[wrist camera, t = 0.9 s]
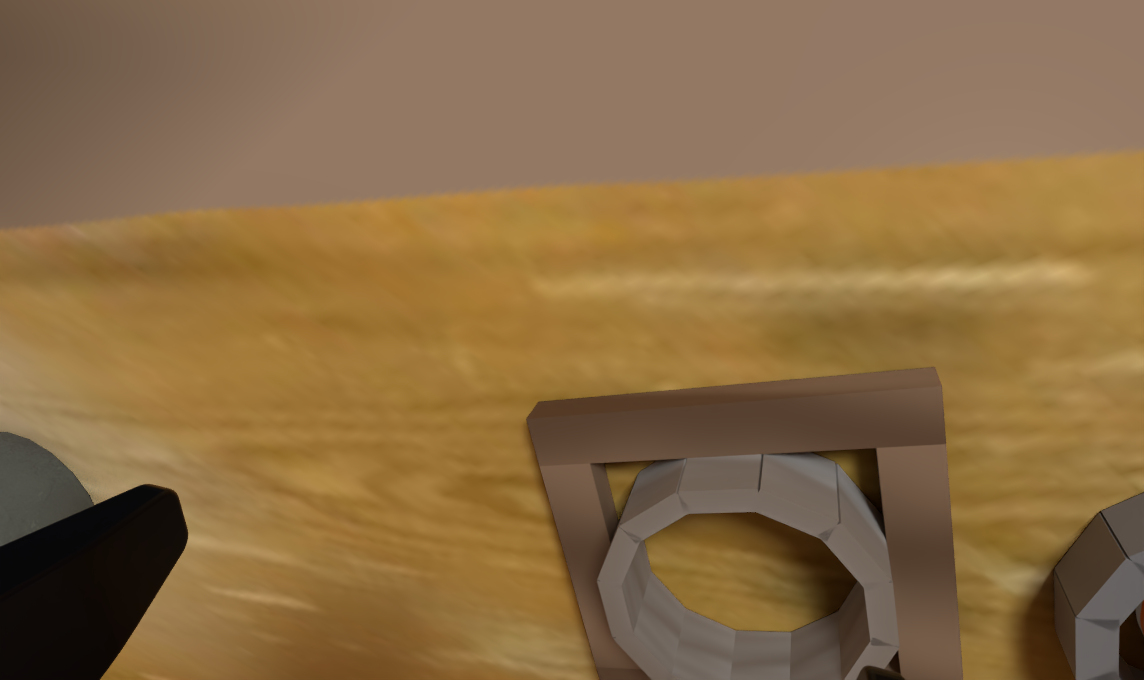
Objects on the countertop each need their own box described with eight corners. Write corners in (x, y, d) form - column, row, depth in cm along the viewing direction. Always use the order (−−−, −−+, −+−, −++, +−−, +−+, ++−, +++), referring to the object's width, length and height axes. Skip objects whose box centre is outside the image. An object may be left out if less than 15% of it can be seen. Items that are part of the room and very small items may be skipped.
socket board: (959, 696, 24) (978, 778, 22) (613, 678, 28) (593, 745, 26) (934, 367, 20) (953, 418, 18) (538, 402, 25) (505, 448, 22)
